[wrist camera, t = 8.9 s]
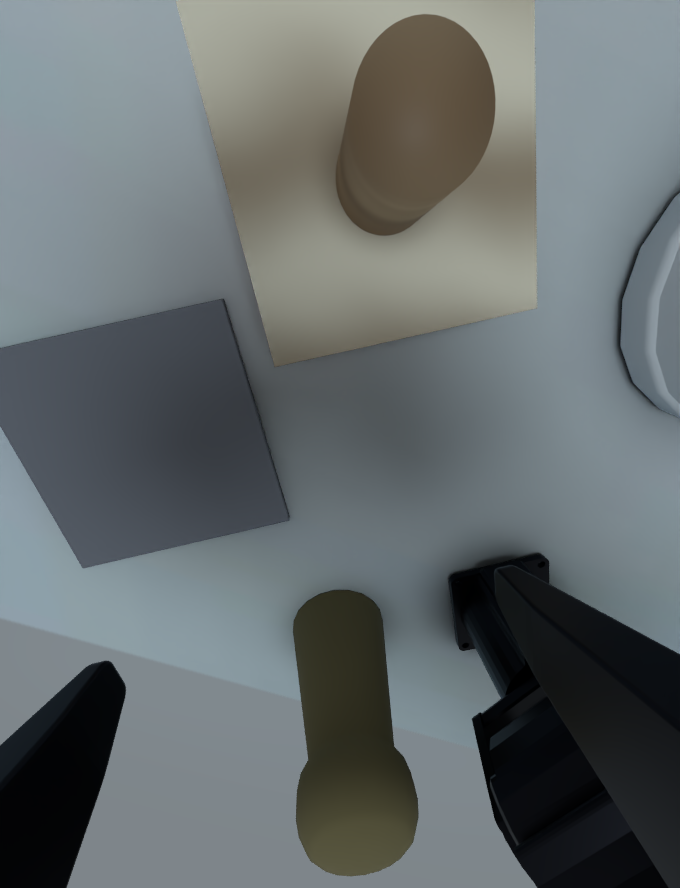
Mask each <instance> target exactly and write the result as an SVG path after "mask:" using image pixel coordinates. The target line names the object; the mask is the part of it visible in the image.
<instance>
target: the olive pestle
mask: <svg viewBox="0 0 680 888" xmlns="http://www.w3.org/2000/svg"><path fill="white" fill-rule="evenodd" d="M293 635H294V643H295V651H296V660H297V668H298V677H299V685H300V693H301V702H302V710H303V718H304V727H305V735H306V743H307V751H308V761H307V763H306V765H305V767H304V769H303V771H302V772H301V775H300V779H299V784H298V789H297V805H296V823H297V829H298V835H299V839H300V841H301V843H302V845H303V847H304V849H305V852H306V854H307V856H308V857H309V859H310V861H311V862H313V863H314V864H315V865H317V866H318V867H320V868H321V869H323V870H324V871H326V872H329V873H332V874H335V875H342V876H358V875H366V874H370V873H374V872H377V871H380V870H382V869H384V868H386V867H389V866H391V865H392V864H393V863H395V862H396V861H398V860H399V859H400V858H401V857H402V856H403V855H404V854H405V852H406V851H407V850H408V848H409V847H410V846H411V844H412V843H413V840H414V836H415V831H416V826H417V821H418V798H417V794H416V791H415V786H414V782H413V779H412V776H411V772H410V770H409V767H408V766H407V763H406V761H405V759H404V757H403V756H402V755H401V754H400V752H399V751H397V749H396V748H395V747H394V741H393V730H392V719H391V708H390V697H389V686H388V675H387V664H386V653H385V642H384V631H383V620H382V616H381V612H380V609H379V608H378V607H377V605H376V604H375V603H374V601H373V600H371V599H370V598H368V597H366V596H365V595H363V594H361V593H357V592H354V591H350V590H333V591H330V592H326V593H322V594H319V595H317V596H316V597H314V598H312V599H310V600H309V601H307V602H306V603H305V604H304V605H303V606H302V607H301V608H300V609H299V611H298V613H297V615H296V617H295V619H294V624H293Z"/></svg>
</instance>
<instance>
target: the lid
mask: <svg viewBox="0 0 680 888" xmlns="http://www.w3.org/2000/svg"><path fill="white" fill-rule="evenodd" d="M176 4H177V7H178V11H179V15H180V19H181V22H182V26H183V30H184V33H185V37H186V41H187V44H188V48H189V52H190V56H191V59H192V63H193V67H194V70H195V74H196V78H197V81H198V85H199V89H200V93H201V96H202V100H203V104H204V107H205V111H206V115H207V118H208V122H209V126H210V129H211V133H212V137H213V141H214V144H215V148H216V152H217V155H218V159H219V163H220V166H221V170H222V174H223V178H224V181H225V185H226V189H227V192H228V196H229V200H230V203H231V207H232V211H233V215H234V218H235V222H236V226H237V229H238V233H239V237H240V240H241V244H242V248H243V252H244V255H245V259H246V263H247V266H248V270H249V274H250V277H251V281H252V285H253V288H254V292H255V296H256V300H257V303H258V307H259V311H260V314H261V318H262V322H263V325H264V329H265V333H266V337H267V340H268V344H269V348H270V351H271V355H272V359H273V362H274V366H275V367H278V366H282V365H287V364H291V363H296V362H300V361H305V360H309V359H314V358H318V357H322V356H327V355H331V354H336V353H340V352H345V351H349V350H354V349H358V348H363V347H367V346H371V345H376V344H380V343H385V342H389V341H394V340H398V339H403V338H407V337H412V336H416V335H420V334H425V333H429V332H434V331H438V330H443V329H447V328H452V327H456V326H461V325H465V324H470V323H474V322H478V321H483V320H487V319H492V318H496V317H501V316H505V315H510V314H514V313H519V312H523V311H527V310H532V309H536V308H537V225H536V109H535V0H178V1H176Z"/></svg>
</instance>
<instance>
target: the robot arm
mask: <svg viewBox="0 0 680 888" xmlns="http://www.w3.org/2000/svg"><path fill="white" fill-rule="evenodd" d="M539 562H540V563H539ZM457 581H459V582H457ZM456 582H457V583H456ZM449 588H450V596H451V604H452V611H453V619H454V627H455V635H456V642H457V645H458V647H459V649H460V650H462V651H466V650H470V649H475V648H476V650H477V652H478V654H479V656H480V658H481V660H482V662H483V664H484V666H485V668H486V670H487V672H488V674H489V676H490V678H491V680H492V681H493V683H494V685H495V687H496V689H497V691H498V693H499V695H500V697H501V699H500V700H499V701H498V702H497V703H495V704H494V705H493V706H491V707H490V708H489V709H487V710H486V711H485V712H483V713H478V714H477V715H476V716H474V717H473V718H472V721H473V726H474V730H475V735H476V740H477V744H478V748H479V753H480V757H481V761H482V766H483V770H484V774H485V779H486V784H487V788H488V793H489V797H490V801H491V805H492V810H493V814H494V818H495V821H496V823H497V825H498V827H499V829H500V830H501V831H502V833H503V835H504V838H505V840H506V841H507V843H508V844H509V846H510V848H511V850H512V852H513V853H514V855H515V857H516V858H517V860H518V861H519V863H520V864H521V866H522V868H523V869H524V870H525V871H526V872H527V874H528V875H529V877H530V878H531V879H532V880H533V882H534V883H535V885H536V886H537V888H680V654H678V653H677V652H675V651H673V650H671V649H669V648H667V647H665V646H663V645H662V644H660V643H658V642H656V641H654V640H652V639H650V638H649V637H647V636H645V635H643V634H641V633H639V632H637V631H635V630H634V629H632V628H630V627H628V626H626V625H624V624H622V623H621V622H619V621H617V620H615V619H613V618H611V617H609V616H608V615H606V614H604V613H602V612H600V611H598V610H596V609H594V608H593V607H591V606H589V605H587V604H585V603H583V602H581V601H580V600H578V599H576V598H574V597H572V596H570V595H568V594H567V593H565V592H563V591H561V590H559V589H557V588H555V587H553V586H552V585H550V584H549V561H548V560H547V559H546V558H545V557H544V556H543V555H541V554H537V555H533V556H529V557H525V558H520V559H516V560H512V561H508V562H503V563H499V564H495V565H491V566H486V567H482V568H478V569H474V570H469V571H465V572H461V573H457V574H454V575H452V576H451V577H450V578H449ZM125 694H126V687H125V683H124V681H123V680H122V678H121V677H120V675H119V673H118V672H117V670H116V668H115V667H114V665H113V664H112V663H111V662H110V661H102V662H98V663H94V664H91V665H89V666H87V667H86V668H85V669H84V670H82V671H81V672H80V673H79V674H78V675H77V676H76V677H75V678H74V679H73V680H72V681H71V682H69V683H68V684H67V685H66V686H65V687H64V688H63V689H62V690H61V691H59V692H58V693H57V694H56V695H55V696H54V697H53V698H52V699H51V700H50V701H48V702H47V703H46V704H45V705H44V706H43V707H42V708H41V709H40V710H39V711H37V713H35V714H34V715H33V716H32V717H31V718H30V719H29V720H28V721H26V722H25V723H24V724H23V725H22V726H21V727H20V728H19V729H18V730H17V731H16V732H15V733H13V734H12V735H11V736H10V737H9V738H8V739H7V740H6V741H5V742H3V744H1V745H0V888H67V885H68V882H69V879H70V876H71V873H72V870H73V867H74V864H75V861H76V858H77V855H78V853H79V850H80V847H81V844H82V841H83V838H84V835H85V832H86V829H87V826H88V824H89V821H90V818H91V815H92V812H93V809H94V806H95V803H96V800H97V797H98V794H99V791H100V788H101V785H102V782H103V779H104V776H105V772H106V769H107V765H108V761H109V757H110V754H111V750H112V746H113V742H114V738H115V734H116V730H117V726H118V723H119V719H120V714H121V711H122V707H123V703H124V699H125Z"/></svg>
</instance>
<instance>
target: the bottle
mask: <svg viewBox="0 0 680 888" xmlns="http://www.w3.org/2000/svg"><path fill="white" fill-rule="evenodd" d="M620 347H621V349H622V352H623V355H624V358H625V361H626V364H627V367H628V370H629V373H630V376H631V378H632V381H633V383H634V384H635V385H636V386H637V387H638V388H639V389H640V390H641V391H642V392H643V393H644V394H645V395H646V396H647V397H648V398H649V399H650V400H651V401H652V402H653V403H654V404H655V405H656V406H657V407H658V408H659V409H661V410H663V411H665V412H667V413H670V414H672V415H674V416H676V417H678V418H680V193H679V194H678V195H677V196H675V197H674V198H673V200H672V201H671V203H670V204H669V206H668V207H667V209H666V210H665V212H664V213H663V215H662V216H661V218H660V219H659V221H658V222H657V224H656V225H655V227H654V228H653V230H652V231H651V233H650V234H649V236H648V237H647V239H646V240H645V242H644V243H643V245H642V246H641V248H640V250H639V253H638V256H637V259H636V262H635V265H634V268H633V271H632V274H631V276H630V279H629V282H628V285H627V288H626V291H625V294H624V297H623V300H622V321H621V343H620Z"/></svg>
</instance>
